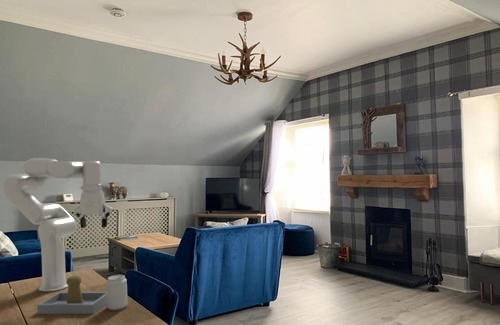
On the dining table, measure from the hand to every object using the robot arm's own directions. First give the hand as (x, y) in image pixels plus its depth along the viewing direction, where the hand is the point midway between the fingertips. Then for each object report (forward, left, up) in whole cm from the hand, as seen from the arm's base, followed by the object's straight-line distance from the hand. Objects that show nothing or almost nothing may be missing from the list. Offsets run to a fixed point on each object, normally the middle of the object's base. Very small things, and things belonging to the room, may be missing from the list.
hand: (93, 227), depth 169 cm
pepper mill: (+11, -15, -28) cm, 33 cm away
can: (+26, -6, -28) cm, 39 cm away
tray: (+11, -15, -28) cm, 34 cm away
